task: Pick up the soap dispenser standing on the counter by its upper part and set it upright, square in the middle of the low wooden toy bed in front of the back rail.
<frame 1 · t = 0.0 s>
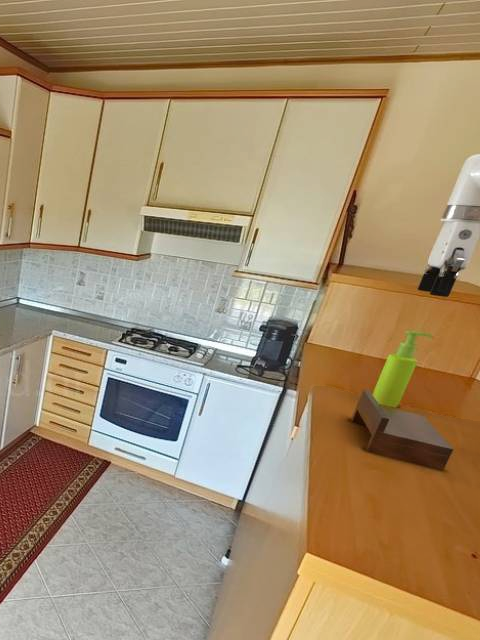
hand: (431, 293, 113), 30 cm above the worktop, tool pointing down, fingers open, 9 cm apart
wooden toy bed: (391, 443, 105), on the worktop
soap dispenser: (385, 404, 130), on the worktop
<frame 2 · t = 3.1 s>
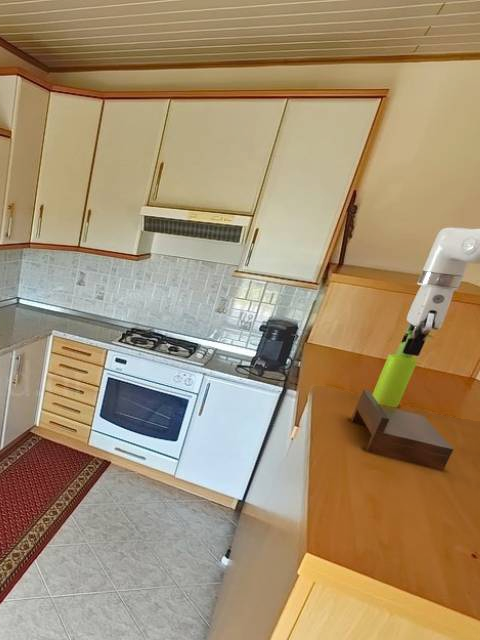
hand: (408, 352, 125), 15 cm above the worktop, tool pointing down, fingers closed on soap dispenser, 3 cm apart
soap dispenser: (385, 404, 130), on the worktop, touching gripper
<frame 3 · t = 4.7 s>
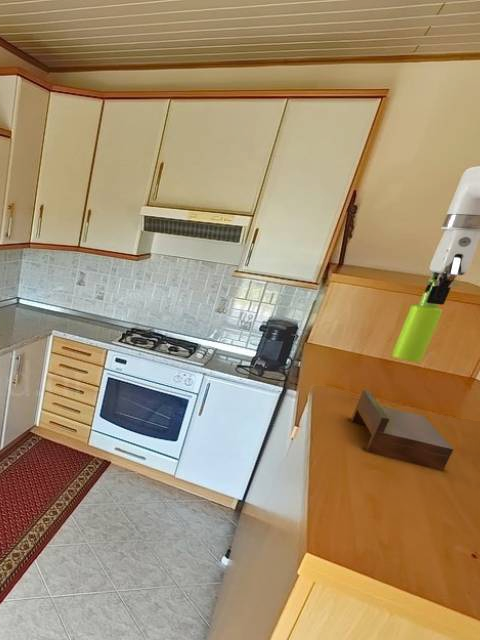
hand: (432, 301, 120), 28 cm above the worktop, tool pointing down, fingers closed on soap dispenser, 3 cm apart
soap dispenser: (408, 359, 125), point 13 cm above the worktop, touching gripper
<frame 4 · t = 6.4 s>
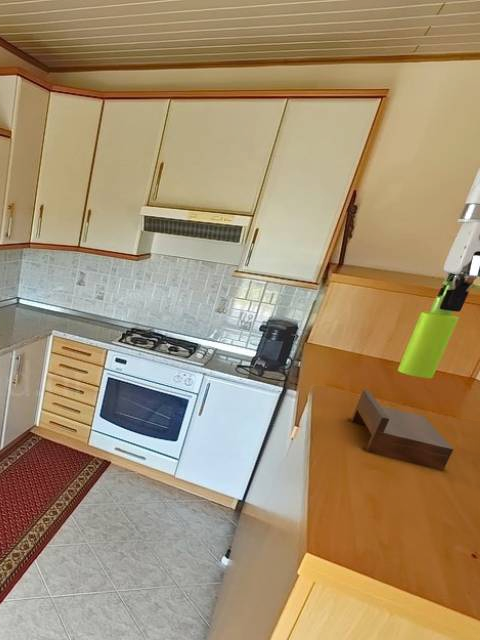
hand: (446, 308, 101), 29 cm above the worktop, tool pointing down, fingers closed on soap dispenser, 3 cm apart
soap dispenser: (417, 375, 106), point 14 cm above the worktop, touching gripper
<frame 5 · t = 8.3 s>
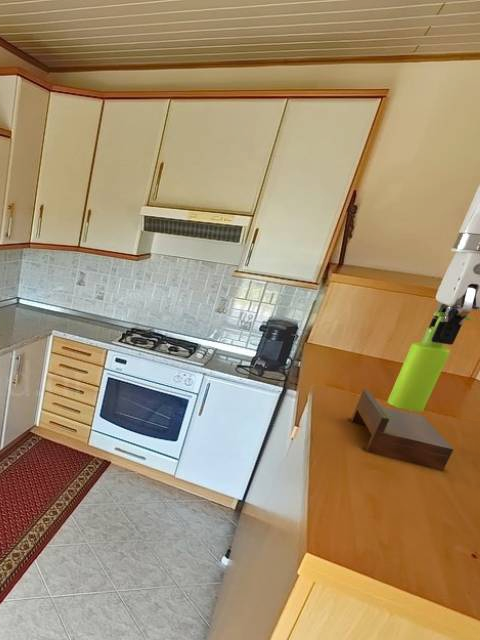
hand: (438, 340, 97), 23 cm above the worktop, tool pointing down, fingers closed on soap dispenser, 3 cm apart
soap dispenser: (407, 407, 102), point 8 cm above the worktop, touching gripper
when the fingers open (20 cm above the worktop, at t = 9.5 s): soap dispenser stays where it is, resting on wooden toy bed.
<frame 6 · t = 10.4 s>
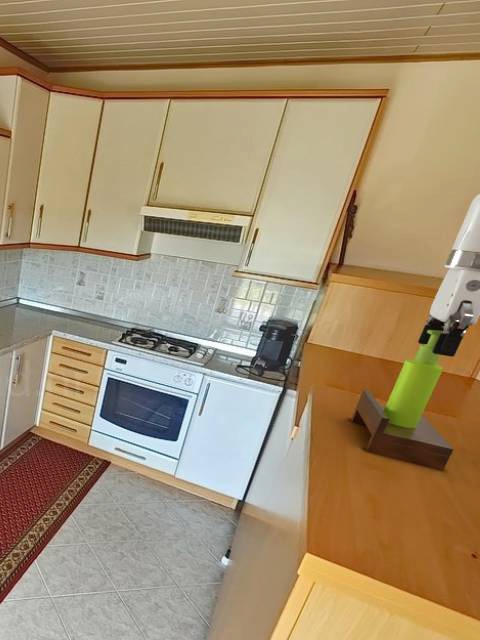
hand: (434, 349, 97), 21 cm above the worktop, tool pointing down, fingers open, 9 cm apart
soap dispenser: (400, 423, 103), point 5 cm above the worktop, touching wooden toy bed
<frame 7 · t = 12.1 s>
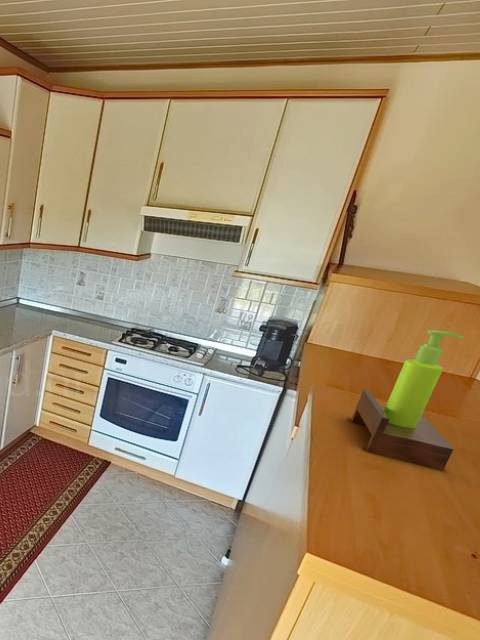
nothing on the worktop moved.
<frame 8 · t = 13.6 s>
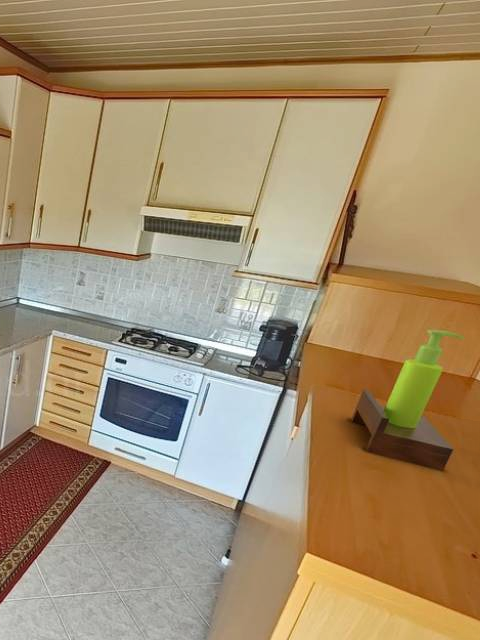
nothing on the worktop moved.
at the end: soap dispenser inside the target area on the wooden toy bed (0.0 cm from its centre), point 4.8 cm above the wooden toy bed's base; soap dispenser tilted 0°; the gripper is holding nothing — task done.
